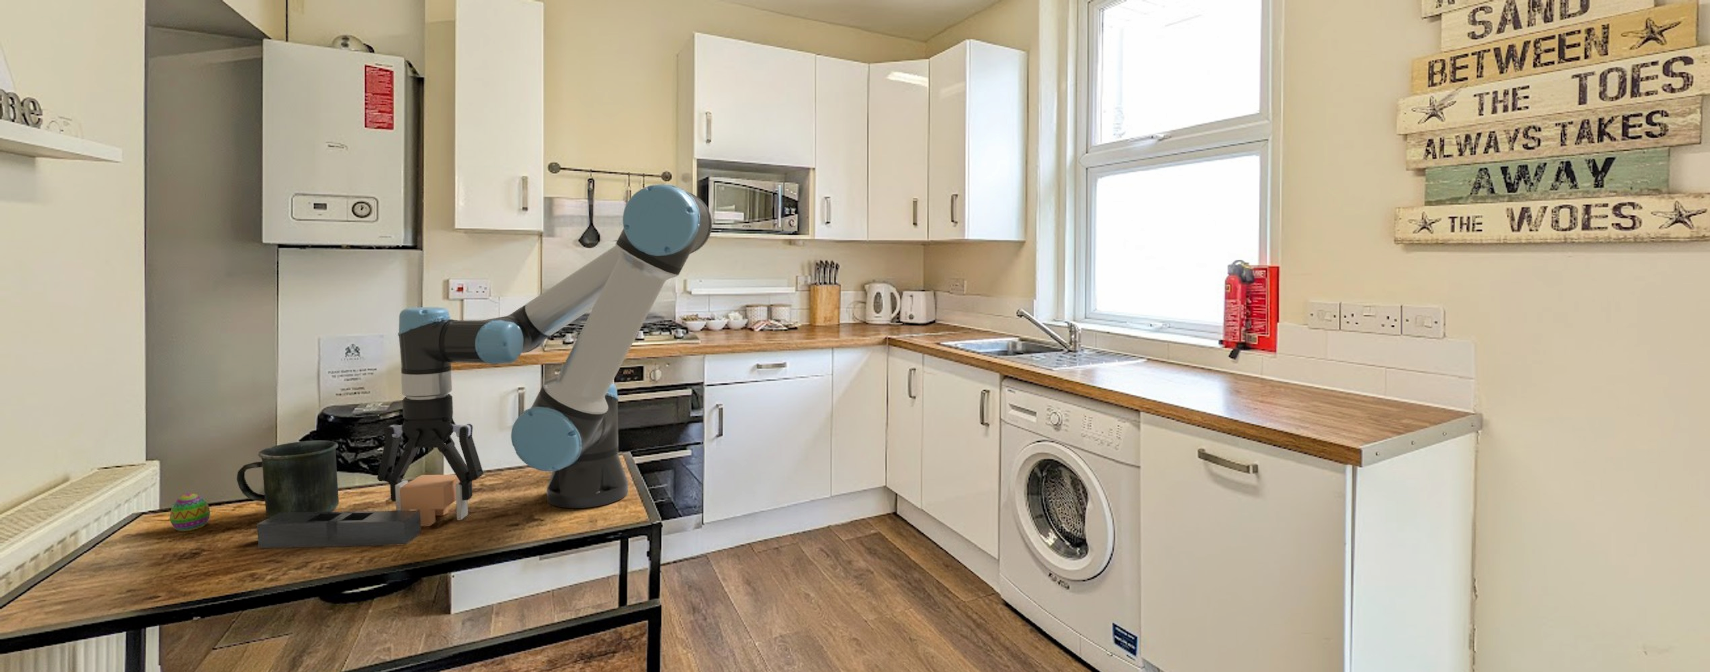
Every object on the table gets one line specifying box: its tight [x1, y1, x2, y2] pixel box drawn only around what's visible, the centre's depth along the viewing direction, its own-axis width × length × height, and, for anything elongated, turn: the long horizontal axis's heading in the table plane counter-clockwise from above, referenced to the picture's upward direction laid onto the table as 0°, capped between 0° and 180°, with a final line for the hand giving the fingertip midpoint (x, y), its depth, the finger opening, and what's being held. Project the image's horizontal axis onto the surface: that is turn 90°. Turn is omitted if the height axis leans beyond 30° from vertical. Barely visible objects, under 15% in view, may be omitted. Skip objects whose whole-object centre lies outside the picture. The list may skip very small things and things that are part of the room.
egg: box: [169, 493, 211, 532], centre depth 117 cm, size 5×5×6 cm
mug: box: [236, 439, 340, 519], centre depth 124 cm, size 11×15×12 cm
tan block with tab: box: [400, 474, 460, 527], centre depth 123 cm, size 7×7×7 cm
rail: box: [256, 510, 422, 549], centre depth 113 cm, size 22×5×4 cm, turn 97°
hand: (433, 517), depth 123 cm, fingers open, 9 cm apart
